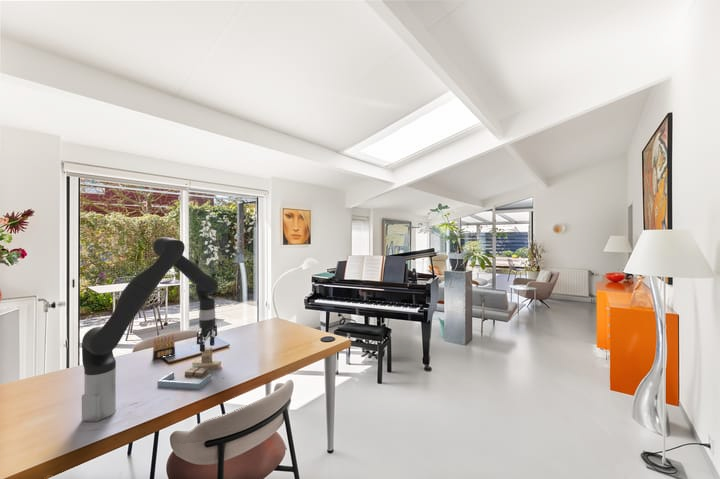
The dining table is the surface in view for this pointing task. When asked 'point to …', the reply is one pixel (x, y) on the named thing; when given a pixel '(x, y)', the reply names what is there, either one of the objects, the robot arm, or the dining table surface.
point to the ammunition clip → (163, 348)
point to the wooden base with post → (206, 360)
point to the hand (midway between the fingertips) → (207, 348)
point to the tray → (179, 384)
